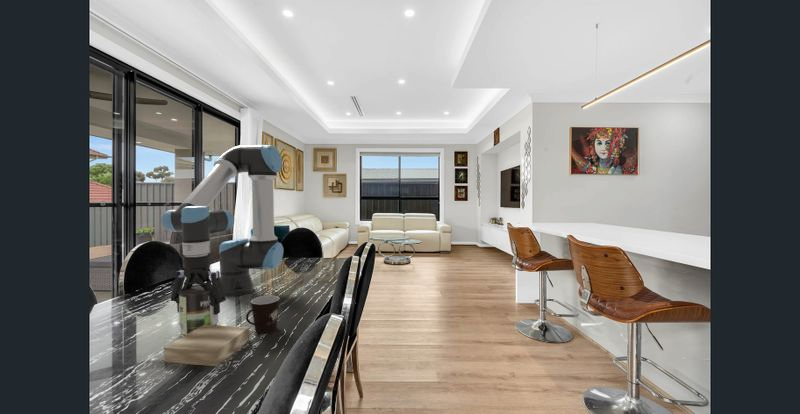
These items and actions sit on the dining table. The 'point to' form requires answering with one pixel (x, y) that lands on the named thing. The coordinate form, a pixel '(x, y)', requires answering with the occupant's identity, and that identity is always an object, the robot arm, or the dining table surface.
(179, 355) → the oak riser
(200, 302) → the coffee can
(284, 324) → the dining table surface
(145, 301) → the dining table surface
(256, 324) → the coffee mug
